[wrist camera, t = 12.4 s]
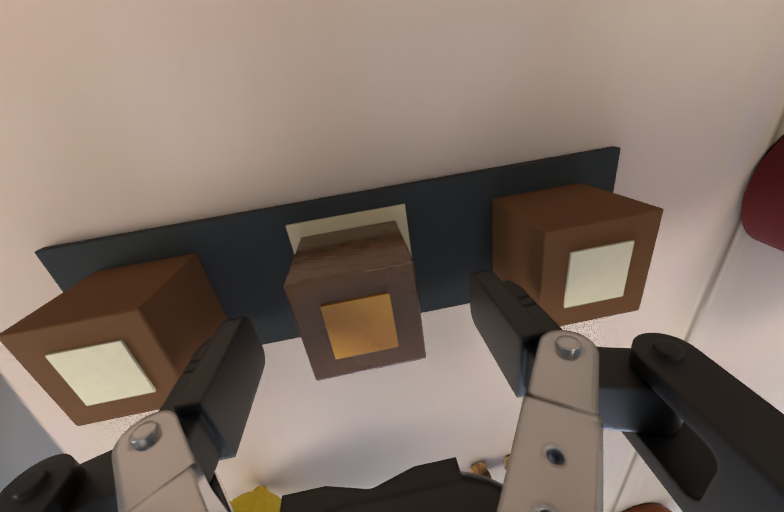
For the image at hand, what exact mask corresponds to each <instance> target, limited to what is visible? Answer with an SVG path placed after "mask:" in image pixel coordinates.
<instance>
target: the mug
mask: <svg viewBox="0 0 784 512" xmlns="http://www.w3.org/2000/svg"><path fill="white" fill-rule="evenodd" d="M741 218H742V223H743V226H744V229H745V230H746V232H747V233H748V234H749V235H750V236H751V237H752V238H754V239H756V240H758V241H760V242H762V243H765V244H767V245H769V246H772V247H774V248H777V249H779V250H782V251H784V137H783V138H782V139H781V140H780V141H779V142H778V143H777V144H776V145H775V146H774V147H773V148H772V149H771V150H770V152H769V153H768V154H767V155H766V156H765V158H764V159H763V160H762V162H761V163H760V165H759V166H758V168H757V169H756V171H755V173H754V174H753V176H752V178H751V180H750V182H749V184H748V186H747V189H746V192H745V194H744V198H743V202H742V209H741Z"/></svg>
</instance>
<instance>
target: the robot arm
mask: <svg viewBox="0 0 784 512" xmlns="http://www.w3.org/2000/svg"><path fill="white" fill-rule="evenodd" d="M469 285H470V309H471V315H472V318H473V321H474V324H475V326H476V327H477V329H478V331H479V333H480V334H481V336H482V338H483V340H484V341H485V343H486V345H487V346H488V348H489V350H490V352H491V353H492V355H493V357H494V359H495V360H496V362H497V364H498V366H499V367H500V369H501V371H502V373H503V374H504V376H505V378H506V379H507V381H508V383H509V385H510V386H511V388H512V390H513V392H514V393H515V395H516V397H517V398H518V397H522V396H524V398H523V402H522V406H521V411H520V415H519V419H518V423H517V428H516V432H515V436H514V441H513V445H512V449H511V453H510V458H509V462H508V466H507V470H506V475H505V479H504V483H503V484H501V483H499V482H497V481H495V480H493V479H491V478H488V477H485V476H482V475H479V474H475V473H470V472H460V469H459V466H458V463H457V459H456V457H455V458H450V459H446V460H441V461H437V462H432V463H428V464H423V465H419V466H414V467H412V468H410V469H408V470H407V471H405V472H403V473H401V474H399V475H397V476H395V477H393V478H391V479H390V480H388V481H386V482H384V483H382V484H380V485H378V486H376V487H374V488H371V489H359V488H345V487H331V486H324V487H319V488H315V489H310V490H306V491H301V492H297V493H292V494H288V495H283V496H282V500H281V506H280V512H603V429H605V430H615V431H622V433H623V434H624V435H625V436H626V438H627V439H628V440H629V442H630V443H631V444H632V446H633V447H634V448H635V450H636V451H637V452H638V454H639V455H640V456H641V457H642V459H643V460H644V461H645V463H646V464H647V465H648V467H649V468H650V469H651V471H652V472H653V473H654V474H655V476H656V477H657V478H658V480H659V481H660V482H661V484H662V485H663V486H664V488H665V489H666V490H667V491H668V493H669V494H670V495H671V497H672V498H673V499H674V501H675V502H676V503H677V505H678V506H679V507H680V509H681V510H682V511H683V512H784V414H783V413H781V412H780V411H779V410H777V409H776V408H775V407H773V406H772V405H771V404H769V403H768V402H767V401H766V400H764V399H763V398H762V397H760V396H759V395H758V394H756V393H755V392H754V391H752V390H751V389H750V388H748V387H747V386H746V385H744V384H743V383H742V382H740V381H739V380H738V379H736V378H735V377H734V376H732V375H731V374H730V373H728V372H727V371H726V370H725V369H723V368H722V367H721V366H719V365H718V364H717V363H715V362H714V361H713V360H711V359H710V358H709V357H707V356H706V355H705V354H703V353H702V352H701V351H699V350H698V349H697V348H695V347H694V346H692V345H691V344H689V343H687V342H686V341H683V340H681V339H679V338H676V337H673V336H670V335H666V334H660V333H645V334H641V335H638V336H637V337H635V338H634V340H633V343H632V347H631V348H608V347H596V345H595V344H594V343H593V342H592V341H591V340H589V339H588V338H586V337H585V336H583V335H581V334H578V333H576V332H572V331H567V330H562V329H561V328H560V326H559V325H558V324H557V323H556V322H555V321H554V320H553V319H552V318H551V317H550V316H549V315H548V314H547V313H546V312H545V311H544V310H543V309H542V308H541V307H540V305H539V304H537V303H536V301H535V300H534V299H533V298H532V297H530V295H529V294H528V293H527V292H526V291H525V290H524V289H523V288H522V287H521V286H520V285H518V284H516V283H514V282H512V281H510V280H505V281H501V280H500V278H499V277H498V276H497V275H496V274H495V273H494V271H493V270H491V269H490V270H484V271H479V272H474V273H470V276H469ZM264 365H265V354H264V350H263V347H262V345H261V343H260V340H259V338H258V336H257V333H256V331H255V329H254V327H253V324H252V322H251V320H250V318H249V317H247V316H244V317H239V318H233V319H228V320H224V321H223V322H222V323H221V324H220V326H219V328H218V330H217V331H216V333H215V335H214V336H213V337H210V338H209V339H208V340H206V341H205V342H204V343H203V344H202V345H201V346H200V347H199V348H198V349H197V350H196V352H195V353H194V355H193V356H192V358H191V360H190V361H189V364H188V365H187V366H186V368H185V369H184V371H183V375H181V376H180V378H179V379H178V381H177V382H176V384H175V386H174V387H173V389H172V390H171V392H170V394H169V395H168V397H167V399H166V400H165V402H164V403H163V405H162V407H161V408H160V410H159V412H156V413H153V414H151V415H148V416H146V417H145V418H143V419H141V420H140V421H138V422H137V423H135V424H134V425H133V426H131V427H130V428H129V429H128V430H127V431H126V432H125V433H124V434H123V435H122V436H121V437H120V439H119V440H118V441H117V443H116V444H115V446H114V448H113V450H111V451H108V452H106V453H104V454H102V455H100V456H97V457H95V458H93V459H91V460H88V461H86V462H84V463H82V464H79V463H78V462H77V461H76V460H75V459H74V458H73V457H72V456H71V455H69V454H59V455H55V456H52V457H49V458H47V459H45V460H43V461H41V462H39V463H37V464H35V465H33V466H32V467H30V468H29V469H27V470H26V471H24V472H23V473H22V474H21V475H19V476H18V477H17V478H15V479H14V480H13V481H12V482H11V483H10V484H9V485H7V487H5V488H4V489H3V491H2V492H1V493H0V512H234V510H233V508H232V506H231V503H230V501H229V499H228V497H227V494H226V492H225V490H224V488H223V485H222V483H221V481H220V479H219V476H218V475H217V473H216V472H215V470H216V467H217V464H218V461H219V460H223V459H228V458H232V457H235V456H236V453H237V450H238V447H239V444H240V441H241V438H242V435H243V431H244V428H245V425H246V422H247V419H248V416H249V413H250V410H251V406H252V403H253V400H254V397H255V394H256V391H257V388H258V385H259V381H260V378H261V375H262V372H263V369H264Z"/></svg>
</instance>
